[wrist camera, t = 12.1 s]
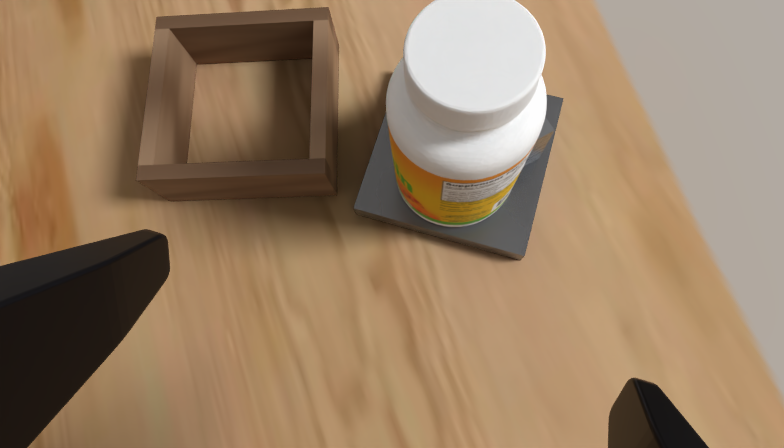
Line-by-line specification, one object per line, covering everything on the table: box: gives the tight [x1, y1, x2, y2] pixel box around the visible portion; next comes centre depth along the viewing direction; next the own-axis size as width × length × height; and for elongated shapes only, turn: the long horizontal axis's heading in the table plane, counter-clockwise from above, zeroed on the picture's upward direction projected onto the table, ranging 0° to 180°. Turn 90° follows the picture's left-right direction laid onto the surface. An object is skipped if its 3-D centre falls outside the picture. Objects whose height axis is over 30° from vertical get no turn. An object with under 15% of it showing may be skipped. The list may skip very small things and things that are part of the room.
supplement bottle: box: [386, 0, 547, 227], centre depth 19 cm, size 5×5×10 cm
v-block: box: [354, 95, 563, 260], centre depth 23 cm, size 8×8×4 cm
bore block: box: [136, 7, 339, 201], centre depth 24 cm, size 8×8×3 cm
